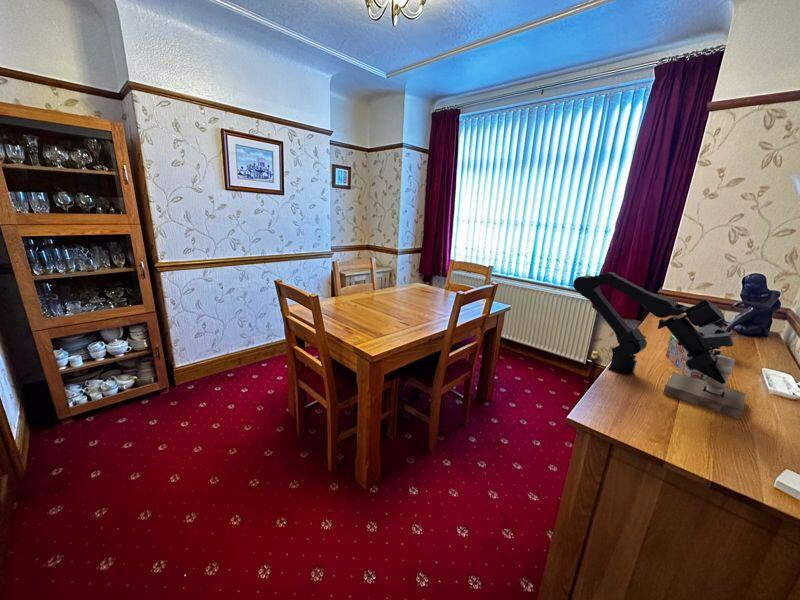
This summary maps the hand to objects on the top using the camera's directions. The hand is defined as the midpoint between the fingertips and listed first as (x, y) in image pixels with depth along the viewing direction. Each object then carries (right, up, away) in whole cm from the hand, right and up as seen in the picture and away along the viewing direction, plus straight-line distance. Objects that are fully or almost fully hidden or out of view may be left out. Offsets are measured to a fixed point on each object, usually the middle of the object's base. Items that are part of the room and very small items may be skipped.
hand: (724, 380), depth 95 cm
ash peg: (-1, -7, +3) cm, 8 cm away
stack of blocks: (+10, -2, +25) cm, 27 cm away
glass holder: (+35, +2, +45) cm, 57 cm away
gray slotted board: (-3, -6, +4) cm, 8 cm away
